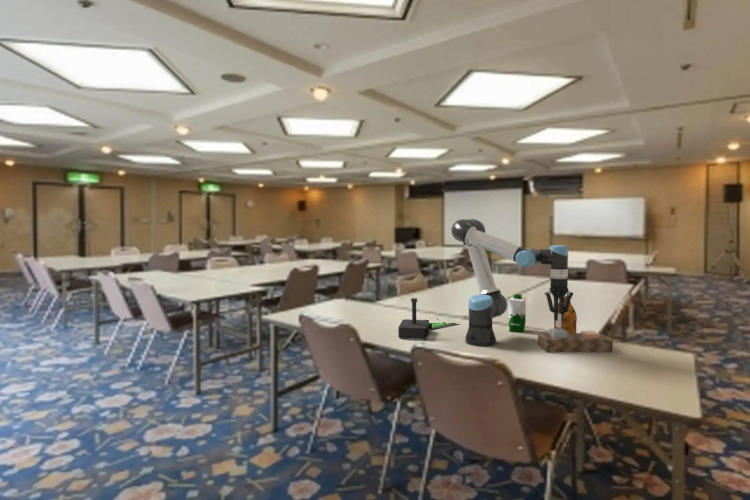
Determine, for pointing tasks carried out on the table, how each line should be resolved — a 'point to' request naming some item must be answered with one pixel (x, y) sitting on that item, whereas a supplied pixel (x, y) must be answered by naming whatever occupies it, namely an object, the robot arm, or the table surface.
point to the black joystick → (414, 326)
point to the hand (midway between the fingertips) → (558, 326)
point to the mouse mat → (442, 325)
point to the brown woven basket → (575, 343)
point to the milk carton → (517, 313)
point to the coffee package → (568, 319)
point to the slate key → (558, 333)
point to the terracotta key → (590, 334)
